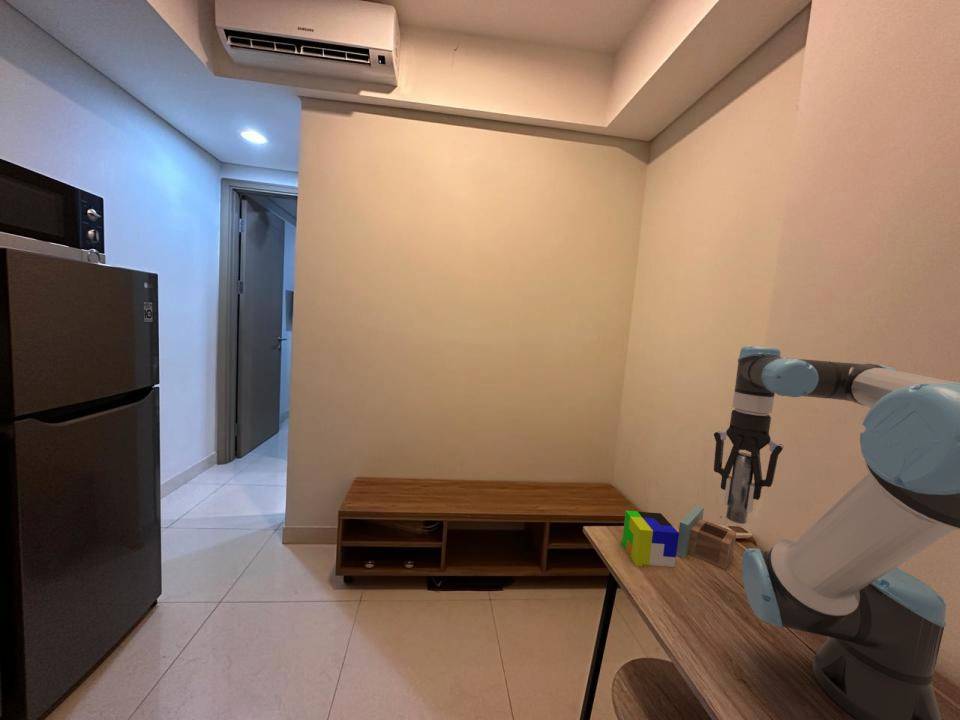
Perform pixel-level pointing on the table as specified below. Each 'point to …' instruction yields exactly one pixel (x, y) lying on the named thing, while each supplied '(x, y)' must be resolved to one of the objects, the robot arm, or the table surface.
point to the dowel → (740, 488)
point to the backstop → (687, 529)
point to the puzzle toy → (650, 539)
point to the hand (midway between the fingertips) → (737, 506)
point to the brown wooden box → (712, 543)
